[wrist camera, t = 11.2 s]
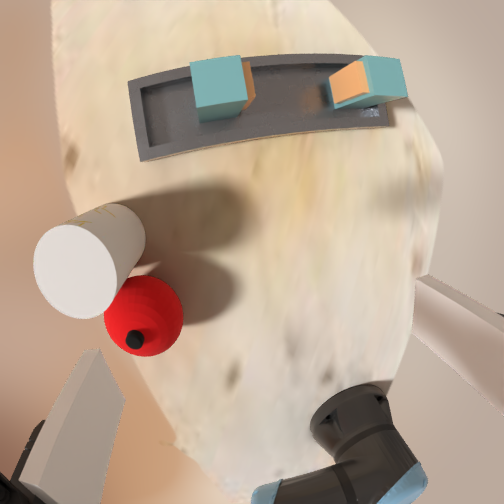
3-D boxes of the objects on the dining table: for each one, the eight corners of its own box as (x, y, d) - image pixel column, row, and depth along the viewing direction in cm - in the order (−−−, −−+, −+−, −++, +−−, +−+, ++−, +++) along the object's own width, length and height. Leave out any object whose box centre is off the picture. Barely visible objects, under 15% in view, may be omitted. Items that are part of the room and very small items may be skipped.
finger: (244, 116, 29) (258, 98, 21) (199, 123, 29) (196, 107, 20) (238, 82, 28) (249, 54, 19) (194, 89, 28) (189, 62, 19)
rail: (376, 128, 32) (389, 126, 30) (146, 161, 30) (140, 161, 27) (363, 62, 30) (374, 56, 27) (134, 88, 27) (127, 81, 24)
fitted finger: (322, 77, 29) (358, 54, 20) (357, 77, 29) (399, 59, 21) (328, 109, 30) (367, 95, 22) (363, 108, 31) (408, 96, 22)
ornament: (127, 252, 33) (100, 285, 23) (196, 281, 35) (193, 323, 25) (108, 313, 34) (84, 359, 25) (172, 338, 37) (164, 389, 27)
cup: (120, 189, 30) (77, 204, 19) (159, 247, 33) (136, 290, 22) (71, 228, 31) (19, 259, 19) (108, 282, 33) (72, 333, 22)
